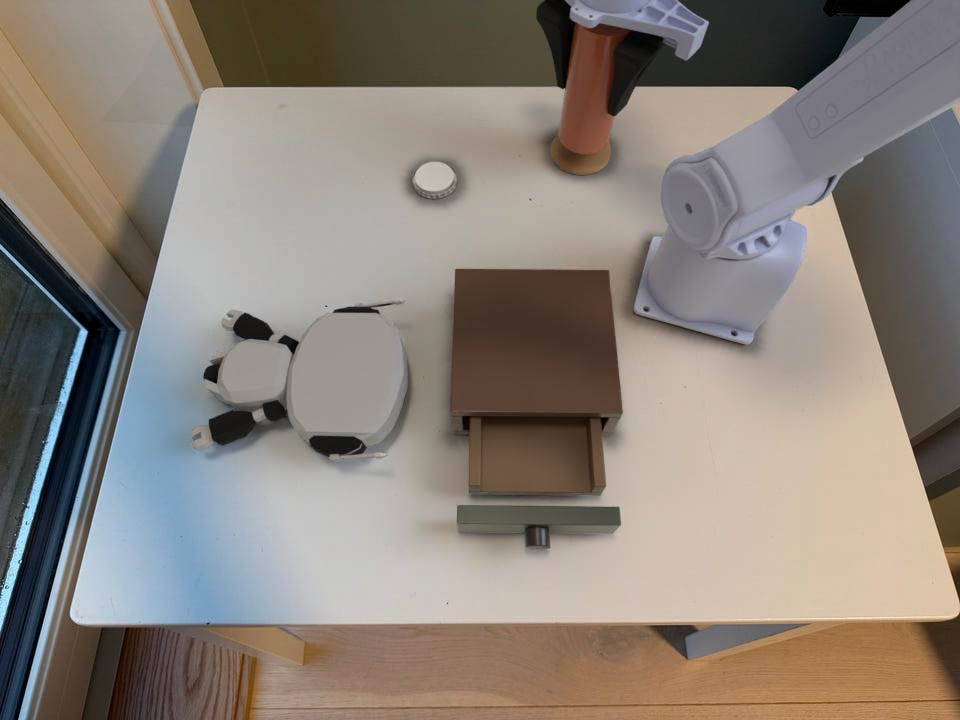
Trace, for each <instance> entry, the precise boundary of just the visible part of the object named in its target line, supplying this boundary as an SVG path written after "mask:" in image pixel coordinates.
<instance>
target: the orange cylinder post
mask: <svg viewBox="0 0 960 720" xmlns="http://www.w3.org/2000/svg"><path fill="white" fill-rule="evenodd" d="M632 32H633V30H630V29H625V28H620V27H615V26H611V25H606V24H601V23H599V24H598V25H597V26H595V27H593V28H587V27H584V26H582V25H580V24H578V23H576V22H575V24H574V31H573V37H572V44H571V51H570V58H569V64H568V71H567V78H566V85H565V88H564V91H563V92H564V93H563V99H562V104H561V105H562V106H561V112H560V119H559V126H558V134H557V135H559V139H560V141H561V143H562V144H563V145H564V146H565V147H566V148H567V149H569V150H571V151H573V152H575V153H580V154H592V153H596V152H598V151H600V150H602V149H603V148H604V147H605V146H606V145H607V143H609V141H610V138H611V133H612V129H613V125H614V122H615V117H616V116H612V115H610V114H608V103H609V99H610V95H611V92H612V88H613V82H614V70H615V66H614V54H613V53H614V49H615V48H616V47H617V46H618V45H619V44H620V43H621V42H622V41H623V40H624V39H625V38H626V37H627V36H628V35H630V34H631V33H632Z"/></svg>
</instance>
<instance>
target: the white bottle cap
mask: <svg viewBox="0 0 960 720" xmlns="http://www.w3.org/2000/svg"><path fill="white" fill-rule="evenodd" d="M457 178H458V177H457V172H456V169H455V167H453V166H452V165H451V164H450V163H448V162H446V161H443V160H440V159H439V160H438V159H432V160H427V161H424V162H422V163H421V164H418V165H417V166H416V167H415V169H414V170H413V172H412V174H411V179H412V187H413V188H414V190H415V192H416V193H418V194H419V195H420V196H421V197H424V198H427V199H441V198H444V197H447V196H448V195H450V194H451V193H452V192H453V191H454V190H455V189H456V187H457V184H458V183H457V182H458V179H457Z"/></svg>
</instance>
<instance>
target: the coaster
mask: <svg viewBox="0 0 960 720" xmlns="http://www.w3.org/2000/svg"><path fill="white" fill-rule="evenodd" d="M549 152H550V157H551V159H552V161H553V163H554V164H555V165H556V166H557V167H558V168H559V169H561V170H562V171H564V172H565V173H568V174H571V175H577V176H588V175H593V174H596V173H598V172H600V171H602V170H603V169H605V167H607V165H608V163H609V161H610V160H611V155H612V149H611V145H610V143H609V142H608V143H607V145H606V146H605V147H604V148H603V149H602V150H600V151H598V152H596V153H592V154H580V153H575V152H573V151H571V150H569V149H567V148H566V147H565V146H564V145H563V144H562V143H561V141H560V139H559V135H558V134H557V135H556V136H555V137H554V138H553V140H552V142H551V144H550V149H549Z"/></svg>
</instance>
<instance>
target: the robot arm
mask: <svg viewBox="0 0 960 720" xmlns="http://www.w3.org/2000/svg"><path fill="white" fill-rule="evenodd" d="M535 14H536V15H535V18H536V21H537V22H538V24H539V26H540V28H541V29H542V31H543V33H544V36H545V38H546V41H547V43H548V46H549V49H550V53H551V58H552V61H553V67H554V73H555V78H556V85H557V86H556V87H558V88H559V89H561V90H565V85H566V78H567V71H568V64H569V58H570V51H571V44H572V37H573V31H574V24H575V22H576V23H578V24H580V25H582V26H584V27H587V28H593V27H595V26H597V25H598V24H599V23H601V24H606V25H611V26H615V27H620V28H625V29H630V30H633V32H632V33H631V34H630V35H628V36H627V37H626V38H625V39H624V40H623V41H622V42H621V43H620V44H619V45H618V46H617V47H616V48H615V49H614V53H613V54H614V66H615V70H614V82H613V88H612V92H611V95H610V99H609V103H608V114H610V115H612V116H615V117H617V116H618V114H619V113H621V112H622V110H624V108H625V107H626V106H627V105H628V103H629V101H630V99H631V96H632V95H633V92H634V91H635V89H636V87H637V85H638V83H639V82H640V80H641V79H642V78H643V76H644V74H645V72H646V71H647V69H648V68H649V67H650V66H651V64H652V63H653V62H654V60H655V59H656V58H657V57H658V56H659V55H660V54H661V52H662V51H663V50H664V48H666V46H667V45H668V46H669V47H672V48H674V49H675V51H674V56H676V57H677V58H680V59H682V60H684V61H689V59H690V58H691V57H692V56H693V55H694V54H695V53H696V52H697V51H698V50H699V49H700V48H701V46H702V44H703V41H704V38H705V35H706V32H707V30H708V27H709V24H710V22H709V21H708V20H706V19H704V18H702V17H701V16H699V15H697V14H696V13H694V12H692V10H690V9H689V8H687V7H686V6H685V5H684V4H683V3H681V2H680V1H679V0H543V1H541V2H540V3H539V4H538V6H537V7H536V13H535ZM959 104H960V0H909V2H907V3H906V4H905V5H903V6H902V7H901V8H900V9H899V10H897V11H896V12H895V13H894V14H892V15H891V16H889V18H887V19H886V20H885V21H884V22H882V23H881V24H880V25H879V26H877V27H876V28H874V29H873V30H872V31H871V32H870V33H869V34H867V35H866V36H865V37H863V38H862V39H861V40H860V41H858V43H856V44H855V45H853V47H851V48H850V49H849V50H847V51H846V52H845V53H844V54H842V55H841V56H840V57H839V58H837V59H836V60H835V61H834V62H833V63H831V64H830V65H829V66H827V67H826V68H825V69H824V70H823V71H821V72H820V73H819V74H817V75H816V76H814V77H813V79H811V80H810V81H808V82H807V83H806V84H805V85H804V86H803V87H801V88H800V89H799V90H798V91H796V92H795V93H794V94H792V95H791V96H790V97H789V98H787V99H786V100H785V101H784V102H782V103H781V104H780V105H779V106H777V107H776V108H775V109H773V111H771V112H770V113H769V114H767V115H765V116H764V117H761V119H758V120H757V121H754V122H753V123H751V124H749V125H748V126H746V127H744V128H743V129H741V130H739V131H738V132H736V133H734V134H732V135H730V136H729V137H727V138H725V139H724V140H722V141H720V142H718V143H716V144H715V145H713V146H710V147H707V148H705V149H703V150H701V151H699V152H697V153H694V154H686V155H683V156H680V157H678V158H675V159H674V160H673V161H671V162H670V163H669V164H668V166H667V167H666V169H665V171H664V173H663V177H662V181H661V189H660V200H661V201H660V203H661V208H662V212H663V214H664V215H663V216H664V218H665V220H666V223H667V224H668V225H667V226H666V230H665V231H664V234H663V236H658V235H655V236H653V237H652V238H651V240H650V242H649V243H650V244H649V247H648V250H647V254H646V258H645V262H644V266H643V270H642V274H641V277H640V281H639V285H638V289H637V292H636V296H635V300H634V304H633V312H634V313H635V314H636V315H639V316H641V317H644V318H645V317H646V318H649V319H653V320H656V321H660V322H663V323H666V324H671V325H674V326H677V327H681V328H684V329H688V330H691V331H695V332H700V333H702V334H706V335H710V336H714V337H717V338H721V339H724V340H728V341H731V342H735V343H738V344H743V345H747V346H748V345H750V344H752V342H753V341H754V336H755V333H756V331H757V330H758V329H759V328H760V326H761V325H762V324H763V322H765V320H766V319H767V317H768V316H769V315H770V314H771V313H772V312H773V310H774V309H775V308H776V307H777V306H778V305H779V303H780V302H781V300H783V298H784V297H785V295H786V294H788V291H789V289H790V288H791V287H792V284H793V283H794V280H795V279H796V277H797V275H798V272H799V270H800V267H801V265H802V262H803V258H804V255H805V251H806V246H807V241H808V230H807V227H806V225H804V224H802V223H799V222H797V221H795V220H792V218H793V217H794V215H795V213H796V212H797V211H798V210H800V209H802V208H806V207H810V206H813V205H816V204H818V203H820V202H822V201H824V200H825V199H826V198H827V197H828V196H829V195H831V193H832V192H833V191H834V189H835V188H836V185H837V184H838V182H839V180H840V179H841V177H842V176H843V175H844V174H845V173H846V172H847V171H849V170H850V169H851V168H854V167H855V166H857V165H859V164H860V163H862V162H863V161H864V158H865V157H866V156H868V155H869V154H872V153H874V152H875V151H877V150H879V149H881V148H882V147H885V146H886V145H887V144H889V143H892V142H893V141H895V140H896V139H899V138H900V137H902V136H904V135H906V134H907V133H909V132H911V131H913V130H915V129H916V128H918V127H920V126H921V125H923V124H925V123H927V122H928V121H930V120H932V119H934V118H936V117H937V116H939V115H941V114H943V113H945V112H946V111H948V110H950V109H952V108H954V107H955V106H957V105H959ZM645 310H647V311H645ZM733 334H734V335H733Z"/></svg>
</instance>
